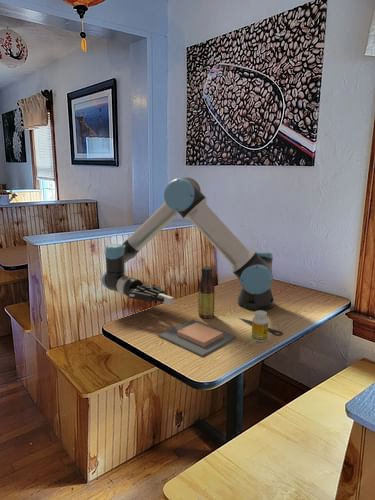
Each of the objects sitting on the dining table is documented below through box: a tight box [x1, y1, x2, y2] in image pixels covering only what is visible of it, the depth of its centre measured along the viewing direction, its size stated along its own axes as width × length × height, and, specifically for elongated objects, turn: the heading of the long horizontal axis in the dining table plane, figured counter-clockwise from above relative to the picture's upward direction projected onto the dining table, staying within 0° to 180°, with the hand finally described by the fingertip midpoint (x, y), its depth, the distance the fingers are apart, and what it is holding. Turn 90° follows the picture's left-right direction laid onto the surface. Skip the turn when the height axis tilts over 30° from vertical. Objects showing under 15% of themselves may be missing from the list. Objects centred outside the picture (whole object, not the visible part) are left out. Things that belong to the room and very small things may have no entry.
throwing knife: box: [238, 317, 284, 337], centre depth 135 cm, size 4×20×1 cm, turn 43°
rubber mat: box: [158, 319, 238, 358], centre depth 126 cm, size 20×18×1 cm
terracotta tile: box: [177, 322, 223, 347], centre depth 125 cm, size 2×10×12 cm
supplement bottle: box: [251, 310, 270, 343], centre depth 124 cm, size 5×5×10 cm
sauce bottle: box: [197, 265, 216, 319], centre depth 141 cm, size 7×6×20 cm
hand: (171, 301), depth 132 cm, fingers closed
